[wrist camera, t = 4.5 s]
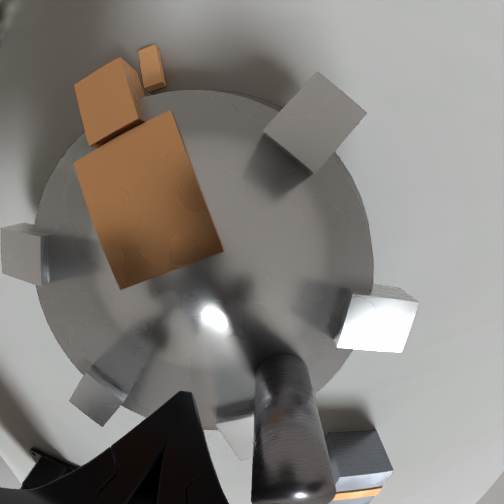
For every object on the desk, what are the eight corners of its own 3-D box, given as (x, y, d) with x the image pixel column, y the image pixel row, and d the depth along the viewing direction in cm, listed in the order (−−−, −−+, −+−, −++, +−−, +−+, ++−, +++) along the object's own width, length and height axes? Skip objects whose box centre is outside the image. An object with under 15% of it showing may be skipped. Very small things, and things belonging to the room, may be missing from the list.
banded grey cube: (354, 468, 15) (366, 507, 11) (311, 470, 15) (318, 513, 11) (375, 429, 14) (394, 471, 11) (328, 431, 14) (340, 478, 11)
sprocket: (447, 257, 10) (573, 317, 4) (210, 456, 13) (190, 565, 6) (196, 13, 9) (145, -110, 2) (6, 275, 11) (-93, 322, 4)
